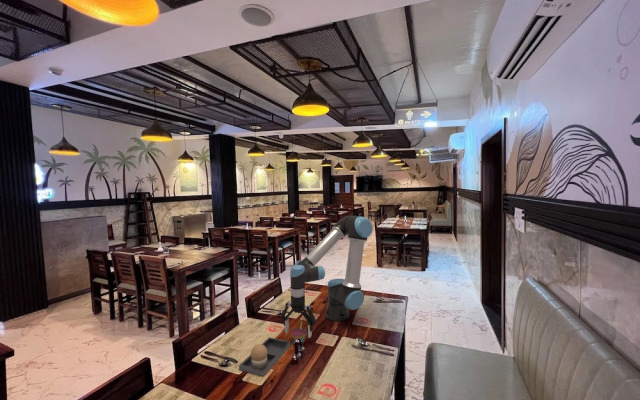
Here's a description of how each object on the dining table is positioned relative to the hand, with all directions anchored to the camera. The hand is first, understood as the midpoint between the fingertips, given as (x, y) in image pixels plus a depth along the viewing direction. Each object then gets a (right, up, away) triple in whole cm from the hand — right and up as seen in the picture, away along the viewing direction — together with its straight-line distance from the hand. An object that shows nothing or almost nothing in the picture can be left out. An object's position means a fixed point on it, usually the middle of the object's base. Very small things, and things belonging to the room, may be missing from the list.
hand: (298, 334), depth 148 cm
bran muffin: (-16, -4, -20) cm, 26 cm away
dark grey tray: (-14, -5, -14) cm, 21 cm away
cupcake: (0, -4, 0) cm, 4 cm away
